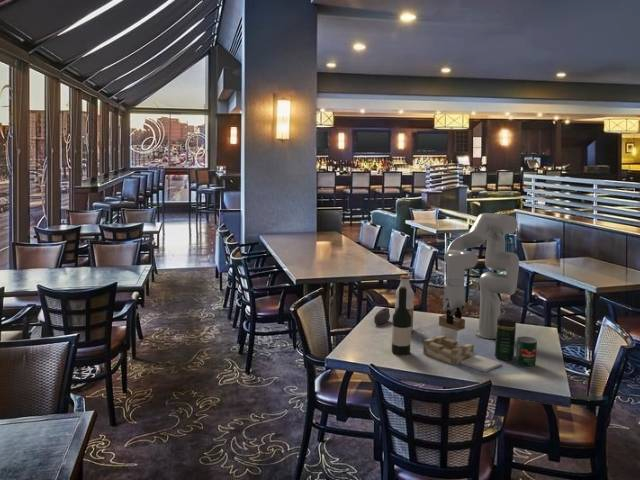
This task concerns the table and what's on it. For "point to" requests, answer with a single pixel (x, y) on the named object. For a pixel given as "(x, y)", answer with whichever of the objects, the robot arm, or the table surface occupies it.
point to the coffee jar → (505, 337)
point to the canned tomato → (526, 352)
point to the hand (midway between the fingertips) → (453, 322)
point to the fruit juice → (409, 296)
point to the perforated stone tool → (382, 316)
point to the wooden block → (457, 323)
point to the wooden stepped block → (447, 349)
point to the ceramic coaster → (481, 363)
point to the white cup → (449, 333)
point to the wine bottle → (401, 326)
